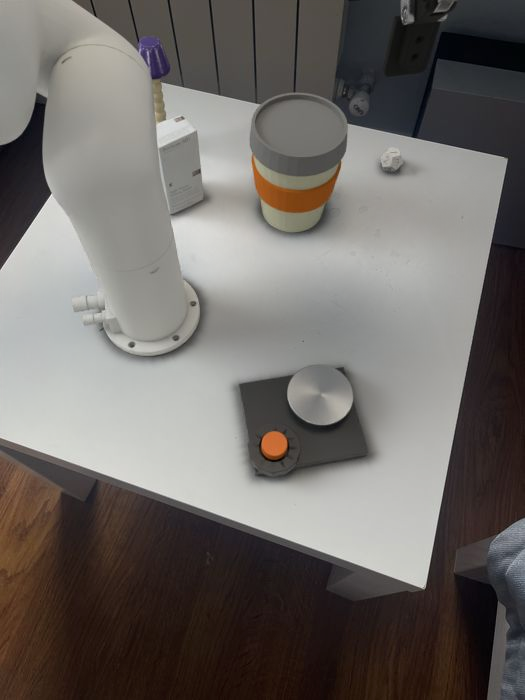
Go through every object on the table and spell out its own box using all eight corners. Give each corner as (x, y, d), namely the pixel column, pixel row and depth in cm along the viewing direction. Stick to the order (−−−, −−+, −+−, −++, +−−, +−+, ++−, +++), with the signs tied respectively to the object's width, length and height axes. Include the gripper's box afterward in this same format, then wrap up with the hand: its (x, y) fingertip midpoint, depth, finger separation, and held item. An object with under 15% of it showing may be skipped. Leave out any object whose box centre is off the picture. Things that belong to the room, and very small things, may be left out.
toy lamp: (152, 134, 87) (132, 31, 73) (180, 133, 87) (166, 31, 73) (151, 155, 85) (130, 53, 70) (180, 154, 85) (166, 52, 70)
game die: (376, 159, 85) (380, 144, 83) (399, 159, 85) (404, 144, 83) (379, 175, 84) (383, 160, 81) (403, 175, 84) (408, 160, 81)
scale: (253, 484, 60) (253, 476, 57) (236, 389, 66) (235, 378, 63) (368, 463, 61) (373, 455, 59) (341, 371, 67) (345, 360, 64)
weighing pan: (294, 431, 60) (295, 430, 59) (281, 371, 63) (281, 369, 63) (360, 420, 61) (361, 418, 60) (343, 361, 64) (343, 359, 64)
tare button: (263, 462, 59) (264, 457, 57) (259, 438, 60) (259, 433, 58) (289, 457, 59) (289, 453, 57) (283, 433, 60) (284, 429, 59)
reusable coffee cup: (302, 256, 76) (312, 174, 62) (232, 214, 79) (228, 129, 66) (350, 203, 81) (369, 117, 67) (282, 167, 84) (288, 78, 71)
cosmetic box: (171, 216, 79) (158, 149, 68) (155, 198, 81) (140, 130, 70) (206, 198, 81) (199, 130, 70) (190, 181, 82) (181, 112, 72)
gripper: (335, -359, 30) (308, -23, 45) (449, -256, 22) (369, 112, 37) (462, -362, 31) (393, -31, 46) (617, -264, 23) (472, 99, 38)
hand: (382, 33), depth 41 cm, fingers open, 9 cm apart
